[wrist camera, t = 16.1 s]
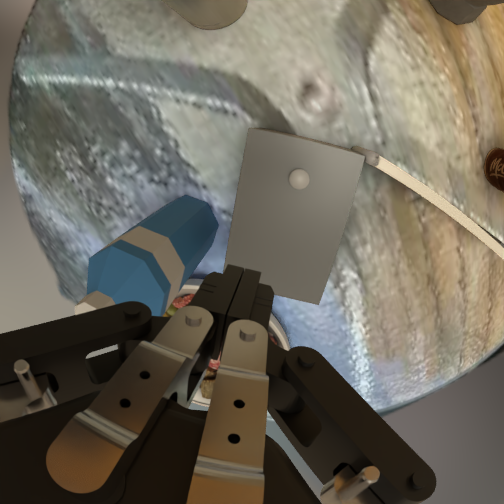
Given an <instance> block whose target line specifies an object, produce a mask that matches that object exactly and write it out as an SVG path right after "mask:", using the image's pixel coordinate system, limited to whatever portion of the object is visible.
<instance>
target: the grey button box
mask: <svg viewBox="0 0 504 504" xmlns="http://www.w3.org/2000/svg"><path fill="white" fill-rule="evenodd" d="M364 159H365V156H364V155H361V154H359V153H357V152H355V151H353V150H350V149H347V148H344V147H340V146H337V145H333V144H329V143H326V142H322V141H318V140H314V139H310V138H306V137H302V136H297V135H293V134H289V133H284V132H279V131H275V130H270V129H265V128H249V130H248V135H247V141H246V146H245V151H244V156H243V162H242V167H241V172H240V178H239V183H238V189H237V194H236V200H235V206H234V211H233V217H232V223H231V228H230V234H229V240H228V246H227V252H226V258H225V264H224V270H223V273H224V271H225V269H226V267H227V265H228V264H231V265H235V266H239V267H243V268H244V271H245V268H247V269H251V270H256V271H260V272H262V273H261V277H260V282H259V283H262V284H266V285H270V286H271V287H272V289H273V291H274V295H278V296H282V297H286V298H291V299H295V300H299V301H304V302H308V303H312V304H317V305H319V303H320V300H321V297H322V295H323V292H324V289H325V286H326V283H327V281H328V278H329V275H330V272H331V269H332V266H333V263H334V260H335V257H336V254H337V251H338V248H339V245H340V242H341V239H342V236H343V233H344V229H345V226H346V223H347V220H348V216H349V213H350V210H351V206H352V203H353V199H354V196H355V192H356V189H357V185H358V182H359V178H360V174H361V170H362V167H363V163H364Z"/></svg>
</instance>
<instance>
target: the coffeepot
mask: <svg viewBox="0 0 504 504" xmlns="http://www.w3.org/2000/svg"><path fill="white" fill-rule="evenodd" d="M429 1H430V3H431V4H432V6H433V7H434V8H435V9H436V11H437V12H438V13H439V14H440V15H442V16H443V17H445V18H446V19H448V20H450V21H451V22H454V23H456V24H457V25H459V24H465V23H471V22H473V21H474V20H475V19H476V18H477V17H478V16H479V15H480V14H481V13H482V12H483V11H484V10H485V9H486V7H487V5H496V4H501V3H504V0H429Z"/></svg>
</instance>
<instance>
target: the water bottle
mask: <svg viewBox="0 0 504 504" xmlns="http://www.w3.org/2000/svg"><path fill="white" fill-rule="evenodd" d="M218 225H219V224H218V222H217V220H216V218H215V216H214V214H213V212H212V210H211V208H210V206H209V204H208V203H206V202H204V201H201V200H198V199H196V198H193V197H190V196H188V195H184V196H182V197H180V198H178V199H176V200H174V201H173V202H171V203H169V204H167V205H165V206H164V207H162V208H161V209H159V210H158V211H156V212H155V213H153V214H152V215H150V216H149V217H147V218H146V219H144V220H143V221H141V222H140V223H138V224H137V225H135V226H134V227H132V228H131V229H129V230H128V231H127V232H125V233H124V234H122V235H121V236H119V237H118V238H117V239H115V240H114V241H112V242H111V243H110V244H108V245H107V246H105V247H104V248H103V249H101V250H100V251H99V252H97V253H96V254H95V255H93V256H92V257H91V258H89V266H88V282H87V295H86V296H85V297H84V298H83V299H82V300H81V301H80V302H79V303H78V304H77V305H76V306H75V315H77V314H81V313H85V312H89V311H93V310H96V309H100V308H104V307H108V306H112V305H115V304H119V303H123V302H127V301H137V302H141V303H144V304H146V305H147V306H148V307H149V308H150V309H151V312H152V316H163V315H164V313H165V312H166V310H167V309H168V307H169V306H170V305H171V303H172V302H173V300H174V299H175V297H176V296H177V294H178V293H179V291H180V290H181V289H182V287H183V286H184V284H185V283H186V281H187V280H188V278H189V277H190V276H191V274H192V273H193V271H194V270H195V269H196V267H197V266H198V264H199V263H200V261H201V260H202V259H203V257H204V256H205V254H206V253H207V252H208V250H209V249H210V247H211V246H212V244H213V241H214V238H215V235H216V231H217V228H218Z"/></svg>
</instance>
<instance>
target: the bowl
mask: <svg viewBox="0 0 504 504" xmlns="http://www.w3.org/2000/svg"><path fill="white" fill-rule="evenodd" d="M203 280H204V279H188V280H187V281H186V283H185V284H184V286H183V287H182V289H181V290H180V291H179V293H178V294H177V296H176V297H175V299H174V300H173V302H172V303H171V305H170V306H169V307H168V309H167V310H166V312H165V313H164V315H163V316H162V317H170V316H173V315H174V313H175V312H176V311H177V310H178V309H180V308H182V307H185V306H188V305H189V303H190V302H191V300H192V298H193V297H194V295H195V293H196V292H197V290H198V289H199V287H200V285H201V284H202V282H203ZM268 335H269V337H270V339H271V340H272V341H273V342H274V343H275V344H276V345H277V346H279V347H281V348H283V349H285V350H287V351H289V350H290V345H289V342H288V339H287V336H286V334H285V332H284V330H283V328H282V326H281V325H280V323H279V322H278V321H277V319H276V318H275V317H274V316H273V314H272V313H271V315H270V321H269V326H268ZM220 353H221V352H220ZM219 359H220V355H219V358H218V360H213V359H211V360H210V363H209V366H208V367H207V370H206V374H205V376H204V378H203V380H202V382H201V384H200V386H199V388H198V390H197V392H196V394H195V396H194V398H193V400H192V402H193V403H195V404H199V405H202V406H206V407H209V405H210V401H211V397H212V392H213V388H214V384H215V379H216V375H217V371H218V367H219V365H220V361H219Z"/></svg>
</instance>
